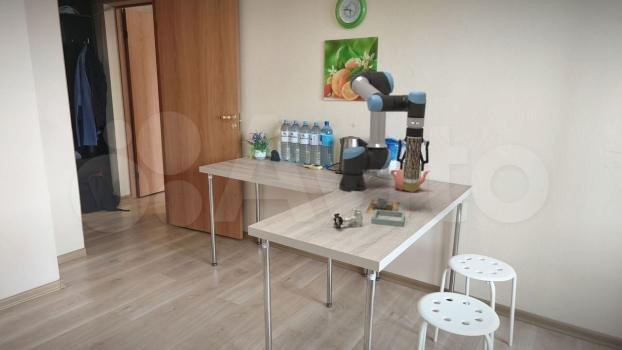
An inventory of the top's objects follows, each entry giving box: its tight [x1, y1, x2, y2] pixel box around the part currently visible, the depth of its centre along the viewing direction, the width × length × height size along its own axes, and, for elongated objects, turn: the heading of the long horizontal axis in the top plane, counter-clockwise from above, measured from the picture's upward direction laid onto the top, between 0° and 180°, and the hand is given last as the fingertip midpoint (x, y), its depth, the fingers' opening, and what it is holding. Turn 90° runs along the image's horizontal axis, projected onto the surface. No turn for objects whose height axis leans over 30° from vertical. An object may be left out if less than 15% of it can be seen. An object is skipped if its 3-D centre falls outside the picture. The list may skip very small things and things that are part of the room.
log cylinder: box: [403, 136, 423, 192], centre depth 182 cm, size 7×7×25 cm
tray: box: [370, 209, 406, 228], centre depth 173 cm, size 13×13×3 cm
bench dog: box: [376, 198, 388, 210], centre depth 183 cm, size 4×3×6 cm
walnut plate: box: [372, 199, 394, 211], centre depth 189 cm, size 9×7×3 cm
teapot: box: [390, 168, 431, 193], centre depth 224 cm, size 17×16×13 cm
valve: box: [332, 209, 364, 230], centre depth 166 cm, size 7×7×12 cm
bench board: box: [365, 199, 401, 215], centre depth 191 cm, size 14×22×1 cm, turn 164°
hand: (411, 177), depth 184 cm, fingers closed on log cylinder, 7 cm apart
